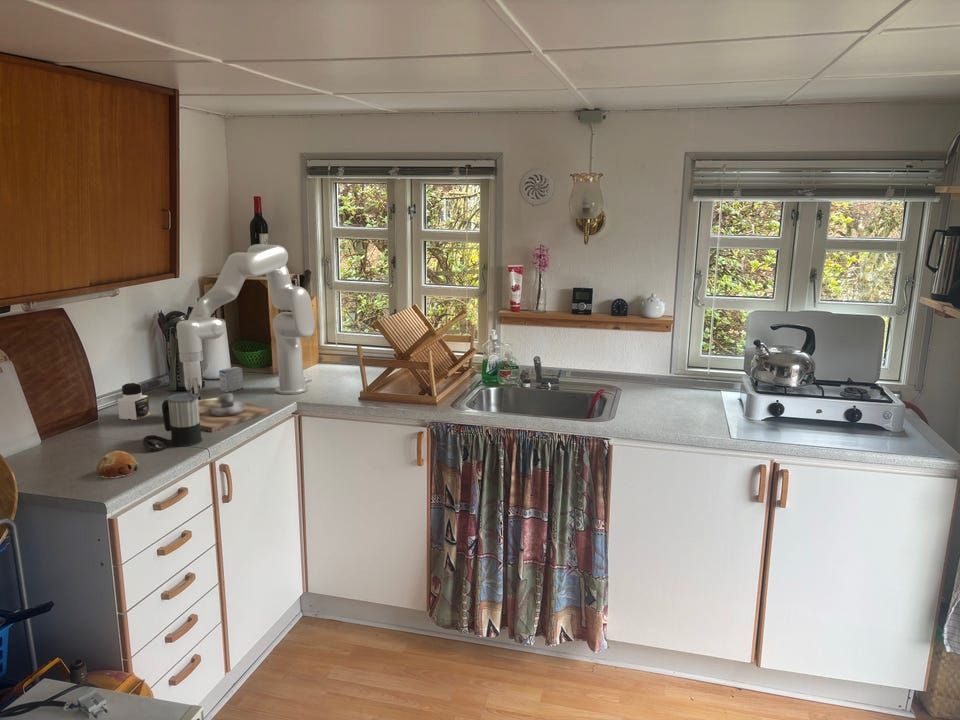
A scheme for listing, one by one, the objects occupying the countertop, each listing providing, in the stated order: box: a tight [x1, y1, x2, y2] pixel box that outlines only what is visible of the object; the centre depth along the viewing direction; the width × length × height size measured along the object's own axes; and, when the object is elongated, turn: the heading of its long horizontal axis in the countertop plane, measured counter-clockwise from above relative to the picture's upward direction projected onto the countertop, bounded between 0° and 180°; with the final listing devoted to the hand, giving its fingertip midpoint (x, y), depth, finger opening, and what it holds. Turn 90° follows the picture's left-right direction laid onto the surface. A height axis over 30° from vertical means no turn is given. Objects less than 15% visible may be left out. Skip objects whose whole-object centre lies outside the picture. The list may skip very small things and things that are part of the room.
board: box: [199, 402, 272, 432], centre depth 255 cm, size 26×22×2 cm
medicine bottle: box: [117, 382, 151, 421], centre depth 255 cm, size 7×7×12 cm
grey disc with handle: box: [198, 392, 245, 416], centre depth 253 cm, size 20×12×6 cm, turn 117°
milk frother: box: [142, 393, 203, 451], centre depth 224 cm, size 14×16×15 cm
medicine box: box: [218, 366, 244, 393], centre depth 291 cm, size 8×4×9 cm, turn 144°
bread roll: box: [96, 450, 140, 477], centre depth 203 cm, size 10×10×8 cm
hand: (196, 407), depth 254 cm, fingers closed
